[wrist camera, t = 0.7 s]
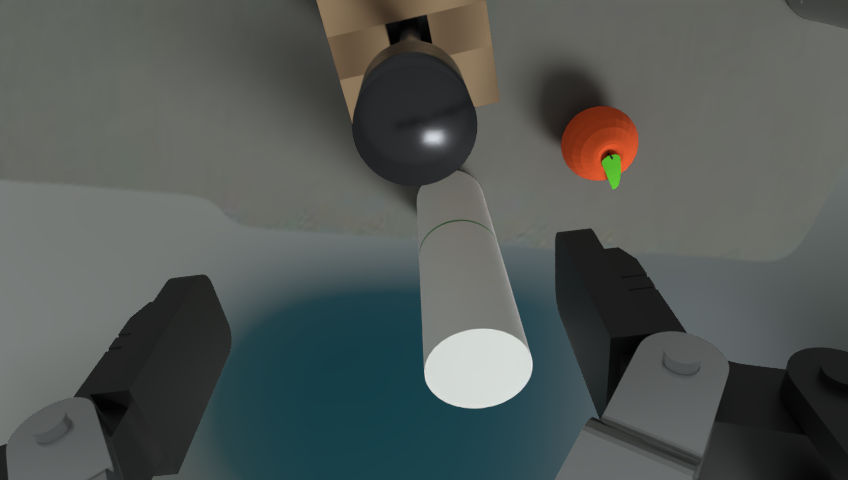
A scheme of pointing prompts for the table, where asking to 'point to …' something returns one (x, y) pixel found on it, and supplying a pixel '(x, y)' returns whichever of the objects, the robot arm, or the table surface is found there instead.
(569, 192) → the table surface
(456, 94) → the plunger
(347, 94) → the box
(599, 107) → the clementine
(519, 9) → the table surface
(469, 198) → the cylindrical container
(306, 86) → the table surface
